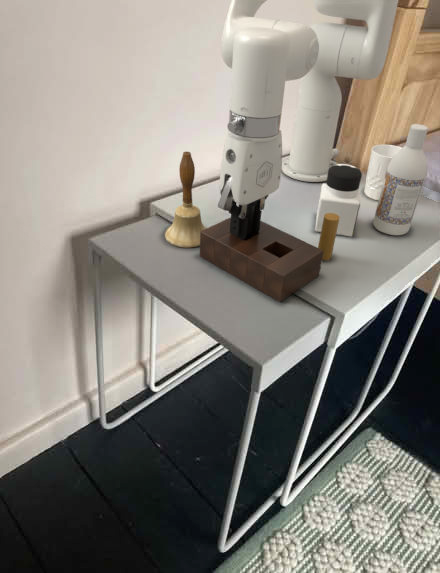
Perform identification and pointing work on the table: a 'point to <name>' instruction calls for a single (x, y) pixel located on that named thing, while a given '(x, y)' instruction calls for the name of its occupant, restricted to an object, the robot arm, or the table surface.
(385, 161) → the white cup
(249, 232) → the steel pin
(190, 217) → the hand bell
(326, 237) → the brass pin
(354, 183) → the medicine bottle
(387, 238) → the table surface
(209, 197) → the table surface
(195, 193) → the table surface
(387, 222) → the bath foam
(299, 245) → the pin block
